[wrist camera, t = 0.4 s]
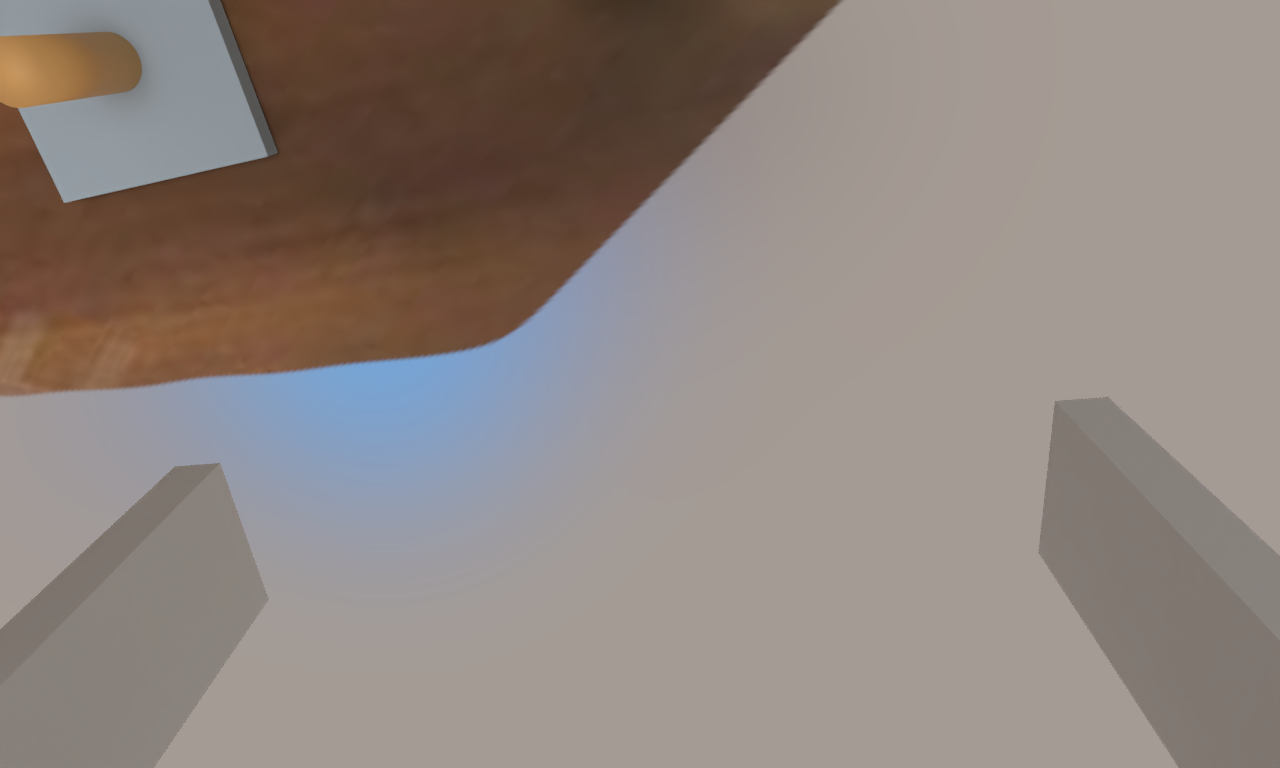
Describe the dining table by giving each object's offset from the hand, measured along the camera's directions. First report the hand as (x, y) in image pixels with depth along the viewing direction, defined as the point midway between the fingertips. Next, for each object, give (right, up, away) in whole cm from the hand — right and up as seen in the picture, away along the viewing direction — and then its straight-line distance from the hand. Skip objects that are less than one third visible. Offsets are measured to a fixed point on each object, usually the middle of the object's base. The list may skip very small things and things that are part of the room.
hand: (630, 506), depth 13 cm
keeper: (-22, +16, +23) cm, 36 cm away
